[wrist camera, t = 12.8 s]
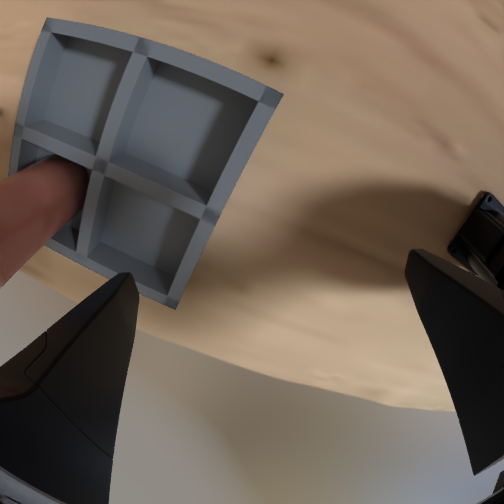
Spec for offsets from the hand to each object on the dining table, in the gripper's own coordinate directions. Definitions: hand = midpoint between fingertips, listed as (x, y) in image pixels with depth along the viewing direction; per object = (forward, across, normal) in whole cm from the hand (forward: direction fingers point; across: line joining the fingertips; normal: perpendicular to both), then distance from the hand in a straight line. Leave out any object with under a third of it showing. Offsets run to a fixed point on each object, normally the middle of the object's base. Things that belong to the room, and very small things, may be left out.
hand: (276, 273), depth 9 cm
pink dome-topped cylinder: (+14, +15, 0) cm, 20 cm away
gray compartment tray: (+14, +10, -1) cm, 17 cm away
